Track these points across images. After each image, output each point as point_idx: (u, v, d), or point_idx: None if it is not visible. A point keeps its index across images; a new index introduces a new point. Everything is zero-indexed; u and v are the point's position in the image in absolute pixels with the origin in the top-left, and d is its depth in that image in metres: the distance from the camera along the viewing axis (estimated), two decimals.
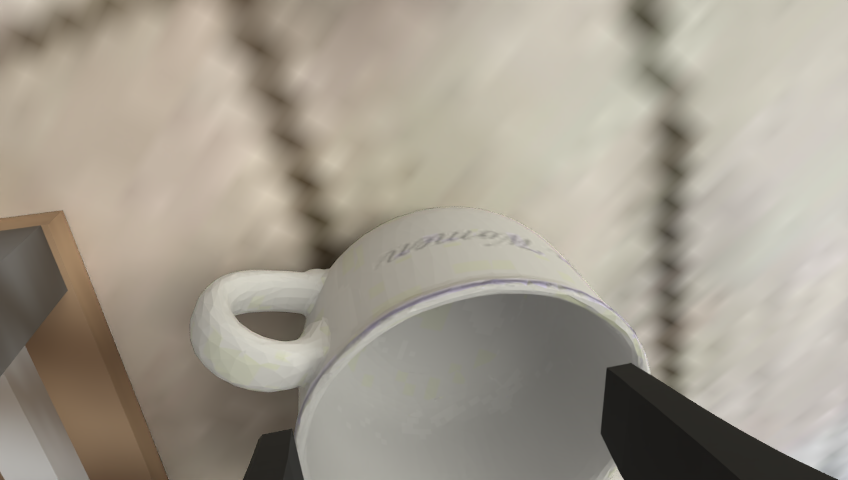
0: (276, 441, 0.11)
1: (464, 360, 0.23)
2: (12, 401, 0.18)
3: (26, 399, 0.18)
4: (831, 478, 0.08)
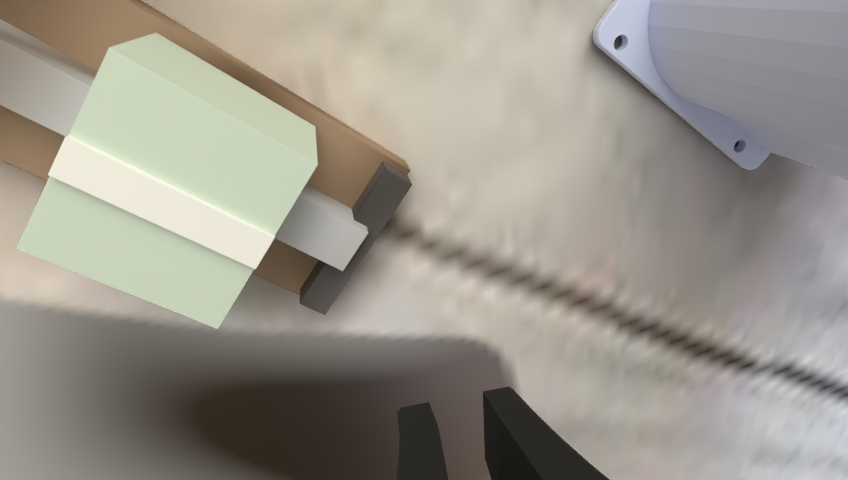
0: (419, 413, 0.11)
1: None
2: None
3: None
4: None
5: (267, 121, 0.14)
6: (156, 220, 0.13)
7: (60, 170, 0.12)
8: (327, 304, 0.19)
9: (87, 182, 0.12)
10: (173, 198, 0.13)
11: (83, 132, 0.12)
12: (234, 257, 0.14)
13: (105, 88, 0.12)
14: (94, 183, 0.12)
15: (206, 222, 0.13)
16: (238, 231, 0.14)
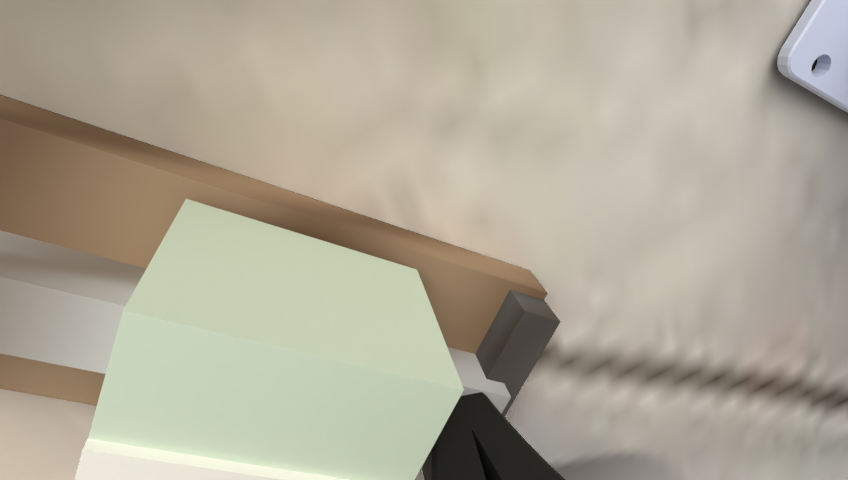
0: None
1: None
2: None
3: None
4: None
5: (370, 320, 0.09)
6: None
7: None
8: None
9: None
10: None
11: (109, 430, 0.08)
12: None
13: (129, 366, 0.07)
14: None
15: None
16: None
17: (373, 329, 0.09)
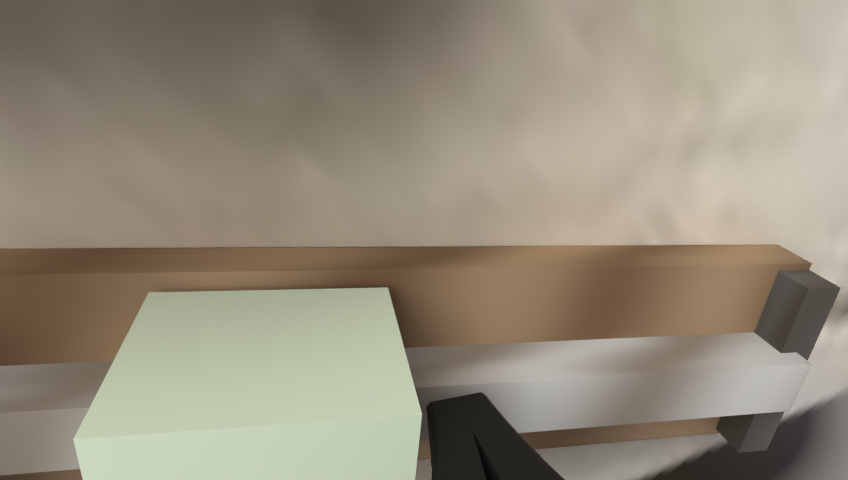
0: (448, 406, 0.11)
1: None
2: (43, 416, 0.11)
3: (65, 396, 0.11)
4: None
5: (327, 366, 0.10)
6: None
7: None
8: (767, 439, 0.16)
9: None
10: None
11: None
12: None
13: None
14: None
15: None
16: None
17: (329, 375, 0.09)
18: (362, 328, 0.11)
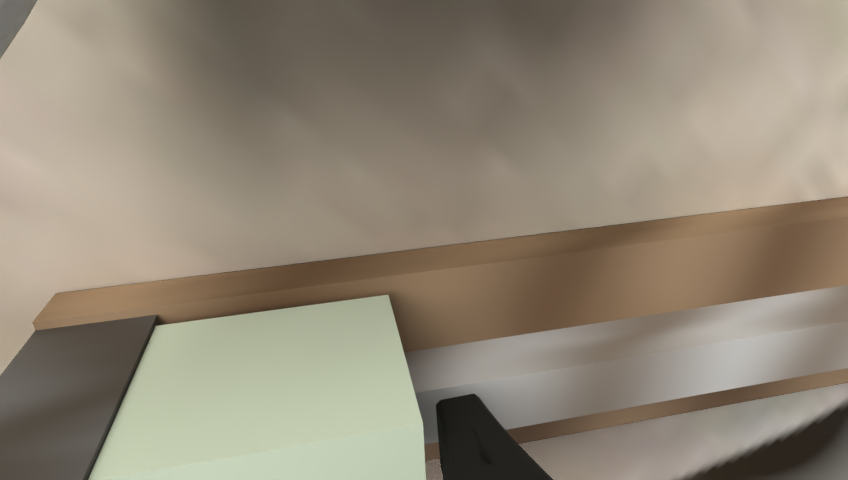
0: (458, 405, 0.11)
1: None
2: None
3: None
4: None
5: (329, 382, 0.10)
6: None
7: None
8: None
9: None
10: None
11: None
12: None
13: None
14: None
15: None
16: None
17: (331, 392, 0.09)
18: (363, 340, 0.11)
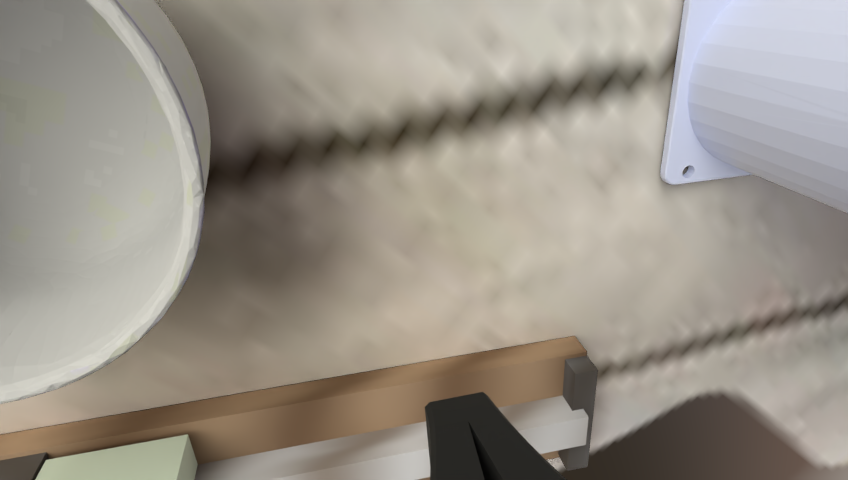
0: (447, 407, 0.11)
1: (118, 57, 0.16)
2: None
3: None
4: None
5: None
6: None
7: None
8: (585, 460, 0.25)
9: None
10: None
11: None
12: None
13: None
14: None
15: None
16: None
17: None
18: (158, 471, 0.19)
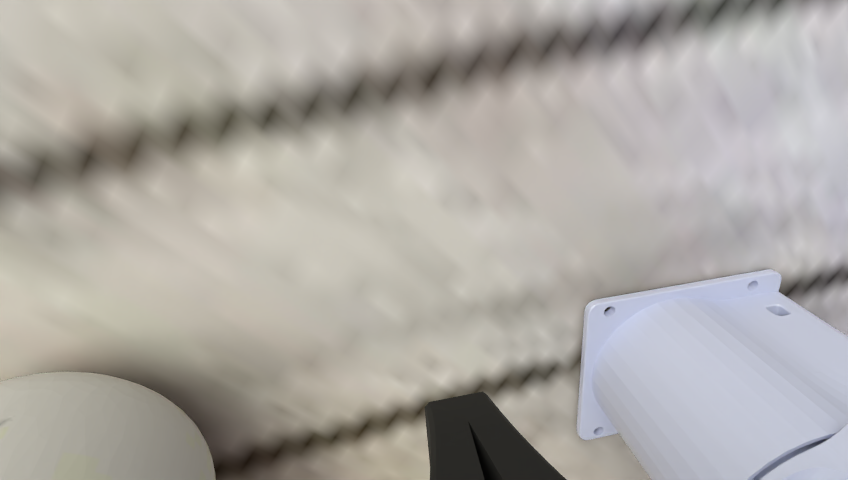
0: (447, 407, 0.11)
1: None
2: None
3: None
4: None
5: None
6: None
7: None
8: None
9: None
10: None
11: None
12: None
13: None
14: None
15: None
16: None
17: None
18: None
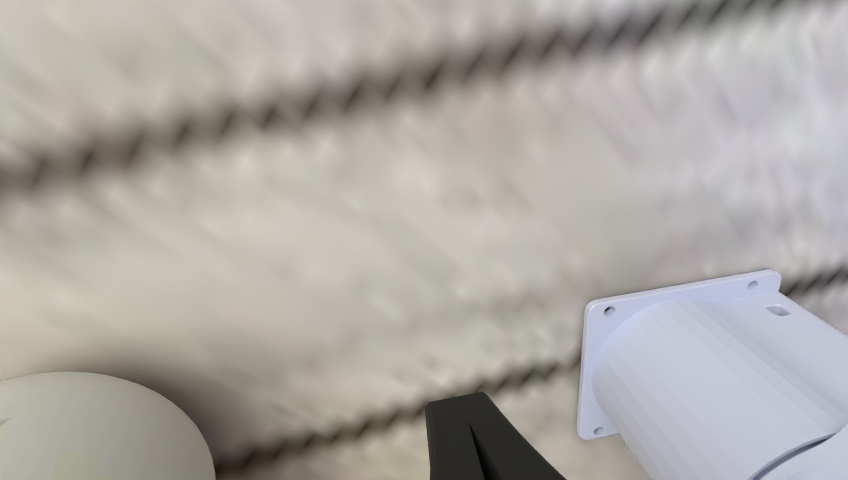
0: (447, 407, 0.11)
1: None
2: None
3: None
4: None
5: None
6: None
7: None
8: None
9: None
10: None
11: None
12: None
13: None
14: None
15: None
16: None
17: None
18: None
